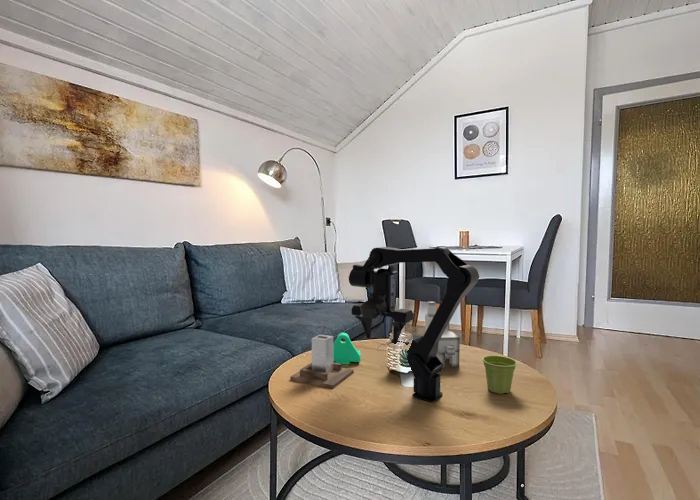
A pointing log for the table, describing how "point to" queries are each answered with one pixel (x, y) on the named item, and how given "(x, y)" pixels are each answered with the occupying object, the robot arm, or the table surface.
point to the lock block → (322, 354)
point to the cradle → (322, 376)
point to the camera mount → (345, 350)
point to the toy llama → (444, 340)
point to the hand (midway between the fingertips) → (381, 340)
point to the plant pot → (499, 373)
